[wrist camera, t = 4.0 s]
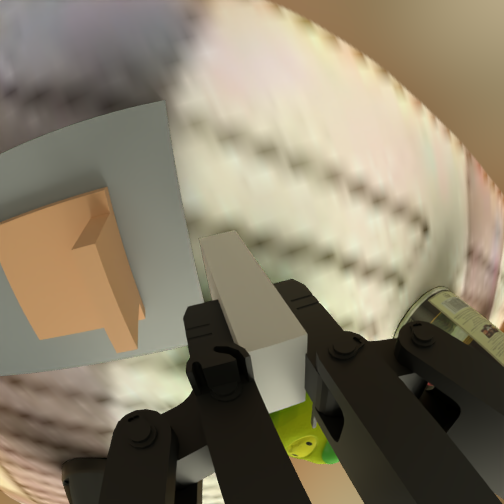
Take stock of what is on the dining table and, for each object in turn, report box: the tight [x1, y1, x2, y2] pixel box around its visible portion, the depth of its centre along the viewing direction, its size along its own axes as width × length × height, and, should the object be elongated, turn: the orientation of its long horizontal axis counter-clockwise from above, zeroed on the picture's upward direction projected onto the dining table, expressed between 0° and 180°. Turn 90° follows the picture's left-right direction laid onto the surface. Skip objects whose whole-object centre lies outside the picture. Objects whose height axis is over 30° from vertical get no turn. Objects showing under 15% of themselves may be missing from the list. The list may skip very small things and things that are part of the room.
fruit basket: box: [269, 392, 339, 464], centre depth 19 cm, size 11×9×11 cm
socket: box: [0, 100, 204, 376], centre depth 14 cm, size 14×18×3 cm
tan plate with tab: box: [0, 187, 145, 353], centre depth 12 cm, size 7×7×4 cm
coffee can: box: [394, 287, 504, 386], centre depth 25 cm, size 10×10×14 cm
